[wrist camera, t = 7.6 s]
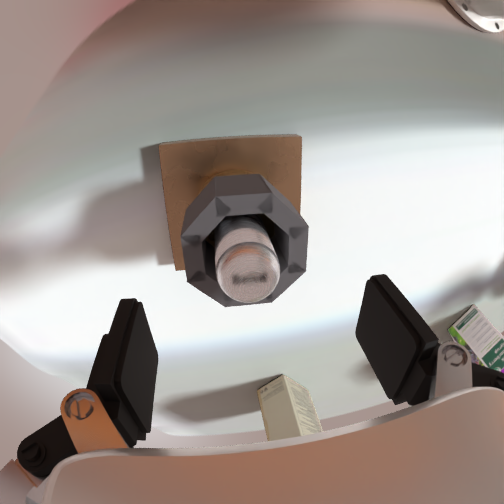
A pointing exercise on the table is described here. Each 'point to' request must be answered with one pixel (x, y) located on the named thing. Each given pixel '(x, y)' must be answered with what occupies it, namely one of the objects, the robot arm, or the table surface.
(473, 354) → the syrup box
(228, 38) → the table surface
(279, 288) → the ring
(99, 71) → the table surface
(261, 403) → the skincare box
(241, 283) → the post stand
